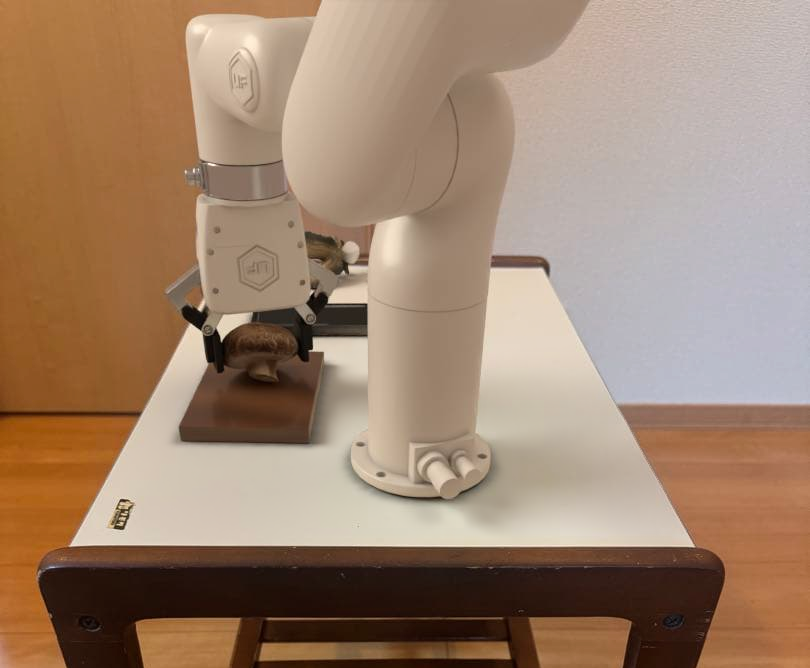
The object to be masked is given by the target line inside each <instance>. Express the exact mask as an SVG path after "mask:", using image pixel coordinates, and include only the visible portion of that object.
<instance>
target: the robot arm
mask: <svg viewBox="0 0 810 668" xmlns="http://www.w3.org/2000/svg"><path fill="white" fill-rule="evenodd" d="M591 1H592V0H321V2H320V4H319V8H318V11H317V13H316V15H315V16H292V17H274V18H265V17H263V16H259V15H253V14H241V13H240V14H239V13H207V14H201V15H197V16H195V17H192V18H191V19H190V21H189V22H188V23H187V25H186V28H185V29H186V30H185V49H186V56H187V66H188V74H189V82H190V90H191V99H192V109H193V116H194V124H195V133H196V140H197V141H196V142H197V150H198V157H197V162H196V163H195V165H196V166H192V167H191V168H184V169H183V175H184V182H185V185H186V186H194V187H195V188H196V187H198V188H199V189H200V190H202V193H200V194H198V196H196V203H195V204H196V205H195V250H196V263H195V264H194V265H193V266H192V267H190V268H189V269H188V270H187V271H185V272H184V273H183V274H182V275H181V276H179V277H178V278H177V279H176V280H175V281H173V282H172V283H171V284H170V285H168V286H167V287H166V288H165V290H164V296H165V298H166V300H167V301H168V302H169V303H170V304H171V305H172V306H173V308H174V309H175V310H176V311H177V312H178V313H179V314H180V315H181V316H182V317H183V319H184V320H185V321H187V322H188V323H189V324H190V325H192V326H194V327H195V328H196V329H197V330H199V332H201V334H202V341H203V348H204V356H205V360H206V363H207V364H209V363H213V365H214V367H215V369H216V372H217V374H218V373H223V371H224V362H223V354H222V345H221V342H222V339H221V334H220V333H219V331H218V328H217V327H218V326H219V323H220V322H221V320H222V318H223V316H224V315H226V316H228V315H240V314H249V313H250V314H251V313H253V312H260V311H270V310H279V309H287V308H295V309H296V311H297V312H296V315H294V316H295V318H293V326H294V335H295V336H296V337H297V338H298V340H299V343H300V349H299V351H298V353H297V355H298V356H299V358H300V359H301V361H303V362H309V351H313V350H314V338H313V337H314V335H313V331H312V324H313V323H314V322H315V321H316V316H317V315H318V314H319V313H320V312H321V310H322V309H323V308H324V307H325V306H326V305H327V303H329V300H330V297H331V296H332V295H333V293H334V292H335V289H336V287H337V286H338V284H339V282H340V278H339V276H338V275H337V276H336V275H335V274H334V273H333V272H332V271H330V270H328V269H326V268H325V267H323V266H321V265H320V263H317V262H316V261H315V260H314V259H309V258H308V256H307V248H306V240H305V234H304V233H305V228H304V227H305V226H304V222H303V217H302V212H301V207H300V205H301V206H302V208H304V209H305V211H307V212H308V213H309V214H310V215H311V216H313V217H315V218H316V219H317V220H319V221H321V222H323V223H326V224H329V225H331V226H336V227H342V228H359V227H364V226H365V227H366V226H369V225H374V224H375V227H374V230H373V235H372V238H371V243H370V248H369V253H368V262H367V303H368V335H367V429H366V430H364V431H362V432H361V433H360V434H359V435H358V436H357V437H356V438H355V439H354V441H353V443H352V444H351V449H350V463H351V465H352V467H353V468H352V469H353V471H354V472H355V474H356V475H357V476H358V477H359V478H360V479H362V480H363V481H364V482H365V483H367V484H368V485H370V486H372V487H374V488H376V489H378V490H380V491H384V492H387V493H388V494H394V495H399V496H402V497H413V498H436V497H437V498H438V497H441V498H442V499H445V500H453V499H454V498H456V497H458V495H459V494H460V493H461V492H463V491H467V490H469V489H471V488H472V487H475V486H476V485H477V484H479V483H480V482H481V481H482V480H483V479H485V478H486V476H487V474H488V473H489V472H490V466H491V458H492V452H491V449H490V446H489V445H488V443H487V442H486V441H485V440H484V438H482V437H481V436H480V435H479V434H478V433H477V421H478V409H479V398H480V388H481V387H480V386H481V378H482V377H481V375H482V363H483V353H484V341H485V331H486V330H485V329H486V317H487V308H488V307H487V306H488V296H489V288H490V277H491V269H492V258H493V250H494V249H493V248H494V244H495V243H494V242H495V236H496V229H497V224H498V218H499V214H500V210H501V206H502V202H503V198H504V194H505V190H506V187H507V183H508V178H509V175H510V171H511V166H512V161H513V156H514V151H515V141H516V139H515V138H516V119H515V114H514V108H513V104H512V100H511V98H510V95H509V92H508V91H507V88H506V87H505V85H504V84H503V82H502V80H501V79H500V78H499V76H498V75H497V74H496V73H503V72H511V71H516V70H520V69H526V68H529V67H531V66H534V65H536V64H538V63H540V62H542V61H544V60H546V59H549V57H551V56H552V55H553V54H555V53H556V51H557V50H558V49H559V48H560V47H561V46H562V45H563V43H564V42H565V41H566V39H568V37H569V35H570V34H571V33H572V31H573V30H574V28H575V26H576V25H577V23H578V22H579V20H580V19H581V17H582V15H583V14H584V12H585V10H586V9H587V7H588V6H589V4H590V2H591ZM288 184H289V187H290V189H291V191H289V190H288ZM310 275H311V276H312V277H314V278H316V279H318V280H319V281H320V282H319V285H318V287H316V289H315V290H313V292H312V293H311V288H310ZM198 286H199V290H200V294H201V296H202V297H203V299H204V304H203V306H202V308H201V310H199V309H198V308H197V307H195V306H194V305H192V304H191V303H190V302H189V301H188V300H187V299H186V296H187V295H188V294H189V293H190V292H191V291H193V290H194V289H195V288H197V287H198Z"/></svg>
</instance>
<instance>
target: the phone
mask: <svg viewBox="0 0 810 668" xmlns="http://www.w3.org/2000/svg"><path fill="white" fill-rule="evenodd" d="M296 312H297V311H296V309H295V308H287V309H279V310H270V311H260V312H252V315H251V319H250V323H251V322H259V323H265V324H275V325H278V326H281V327H283V328H285V329H287V330H289V331H291V332H292V333H293V334H294V326H293V318H295V316H294V315H296ZM312 331H313V336H368V302H349V303H348V302H341V303H340V302H339V303H337V302H335V303H332V302H330V303H329V302H328V303H327V305H326V306H325V307H324V308H323V309H322V310H321V312H320V313H319V314H318V315H317V316H316V321H315V322H314V323H313V324H312Z"/></svg>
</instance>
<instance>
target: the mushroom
mask: <svg viewBox="0 0 810 668" xmlns="http://www.w3.org/2000/svg"><path fill="white" fill-rule="evenodd" d="M221 345H222V354H223V362H224V365H225V366H226V367H229V368H232V369H243V370H246V371H247V372H248V374H249V376H251V377H252V378H255V379H258V380H262V381H266V382H278V378H277V375H276V370H277V367H278V366H279V365H280V364H281V363H283V362H286V361H288V360H290V359H292V358H293V357H295V356H296V354H297V353H298V351H299V349H300V343H299V340H298V338H297V337H296V336H295V335H294V334H293V333H292V332H291V331H289V330H287V329H285V328H283V327H281V326H278V325H275V324H265V323H259V322H251V321H250V322H246V323H242V324H239V325H238V326H236V327H235V328H233V329H231V330H230V331H229V332H228V333H227V334H225V336H224V337H223V338H222V339H221Z"/></svg>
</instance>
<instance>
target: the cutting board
mask: <svg viewBox="0 0 810 668" xmlns="http://www.w3.org/2000/svg"><path fill="white" fill-rule="evenodd" d="M324 368H325V352H324V351H313V350H309V362H303V361H301V359H300V358H299V356H298V355H297V354H296V356H295V357H293V358H292V359H290V360H288V361H286V362H283V363H281V364H280V365H279V366H278V367H277V370H276V375H277V378H278V382H266V381H262V380H258V379H255V378H252V377H251V376H249V374H248V372H247V371H246V370H243V369H232V368H229V367H226V366H225V365H224V371H223V373H218V374H217V372H216V369H215V367H214V365H213V363H207V367H206V369H205V370H204V373H203V374H202V377H201V379H200V381H199V383H198V385H197V387H196V389H195V391H194V394H193V396H192V398H191V399H190V402H189V405H187V407H186V411H185V412H184V415H183V417H182V419H181V421H180V423H179V425H178V430H179V431H178V433H179V439H180V441H182V442H185V441H186V442H231V443H233V442H234V443H239V442H240V443H280V444H281V443H283V444H286V443H287V444H309V443H310V442H311V441H310V440H311V436H312V431H313V425H314V420H315V416H316V410H317V404H318V400H319V396H320V395H319V394H320V391H321V390H320V389H321V384H322V379H323V374H324Z"/></svg>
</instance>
